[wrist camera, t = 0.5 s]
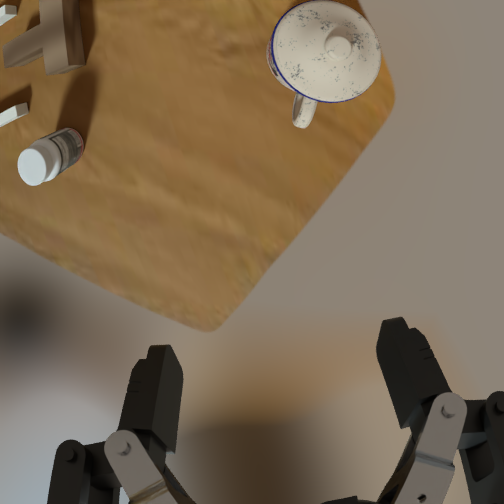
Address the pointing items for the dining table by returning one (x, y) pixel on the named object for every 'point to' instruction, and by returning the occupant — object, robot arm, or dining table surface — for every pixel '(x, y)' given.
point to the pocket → (19, 110)
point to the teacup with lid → (323, 55)
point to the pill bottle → (50, 156)
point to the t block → (50, 39)
